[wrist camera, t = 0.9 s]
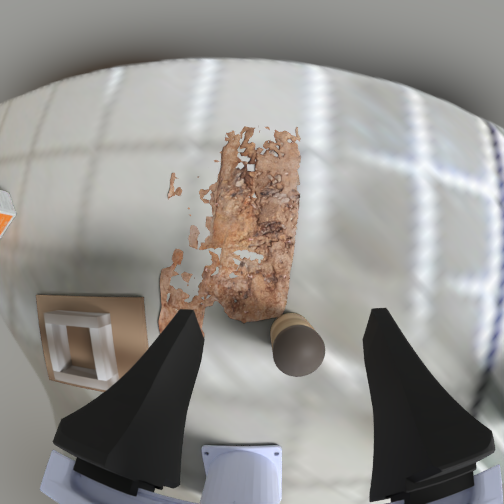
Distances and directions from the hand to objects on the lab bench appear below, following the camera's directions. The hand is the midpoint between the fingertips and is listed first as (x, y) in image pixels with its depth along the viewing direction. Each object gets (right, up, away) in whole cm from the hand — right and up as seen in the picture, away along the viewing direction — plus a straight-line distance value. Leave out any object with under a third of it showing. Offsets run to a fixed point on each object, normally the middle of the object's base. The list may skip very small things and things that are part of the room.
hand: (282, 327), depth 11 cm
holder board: (-18, -6, +13) cm, 23 cm away
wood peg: (+2, -4, +13) cm, 13 cm away
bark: (-3, +6, +14) cm, 15 cm away
